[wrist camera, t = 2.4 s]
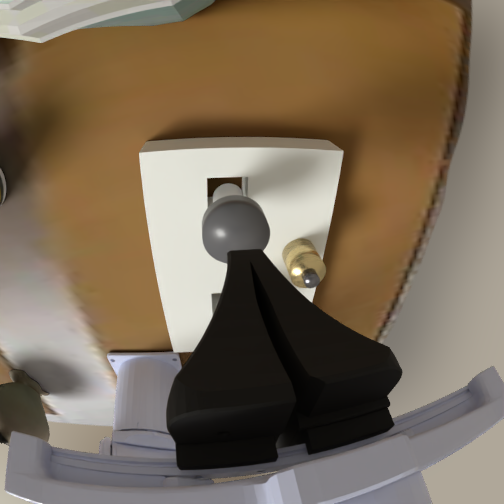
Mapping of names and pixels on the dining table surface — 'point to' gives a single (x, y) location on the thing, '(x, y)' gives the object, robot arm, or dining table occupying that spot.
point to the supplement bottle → (2, 187)
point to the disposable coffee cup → (87, 15)
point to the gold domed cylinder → (303, 263)
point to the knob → (233, 223)
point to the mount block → (196, 202)
